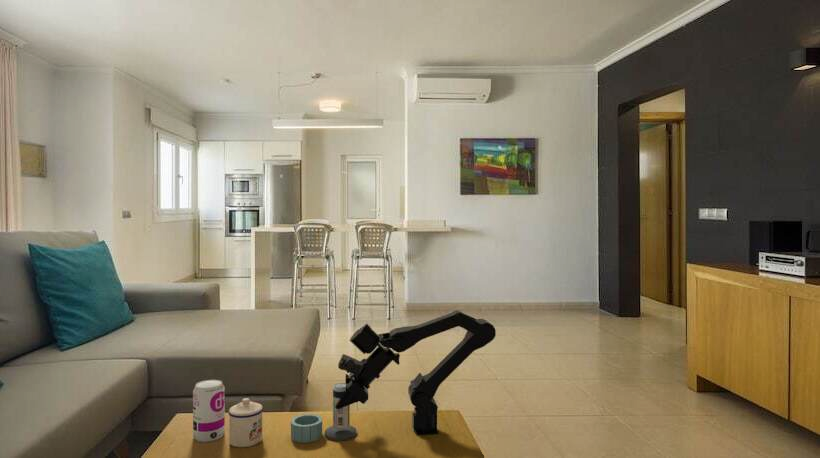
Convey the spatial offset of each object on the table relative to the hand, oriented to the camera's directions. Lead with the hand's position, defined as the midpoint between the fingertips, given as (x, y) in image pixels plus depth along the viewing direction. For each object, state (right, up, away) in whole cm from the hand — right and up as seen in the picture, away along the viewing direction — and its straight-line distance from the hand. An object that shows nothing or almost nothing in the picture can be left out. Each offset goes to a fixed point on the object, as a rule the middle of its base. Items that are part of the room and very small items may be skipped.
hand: (336, 404), depth 145 cm
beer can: (+1, -7, 0) cm, 7 cm away
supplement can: (-36, -9, -2) cm, 37 cm away
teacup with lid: (-24, -9, -3) cm, 26 cm away
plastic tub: (-8, -8, -1) cm, 12 cm away
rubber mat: (+1, -8, 0) cm, 9 cm away
